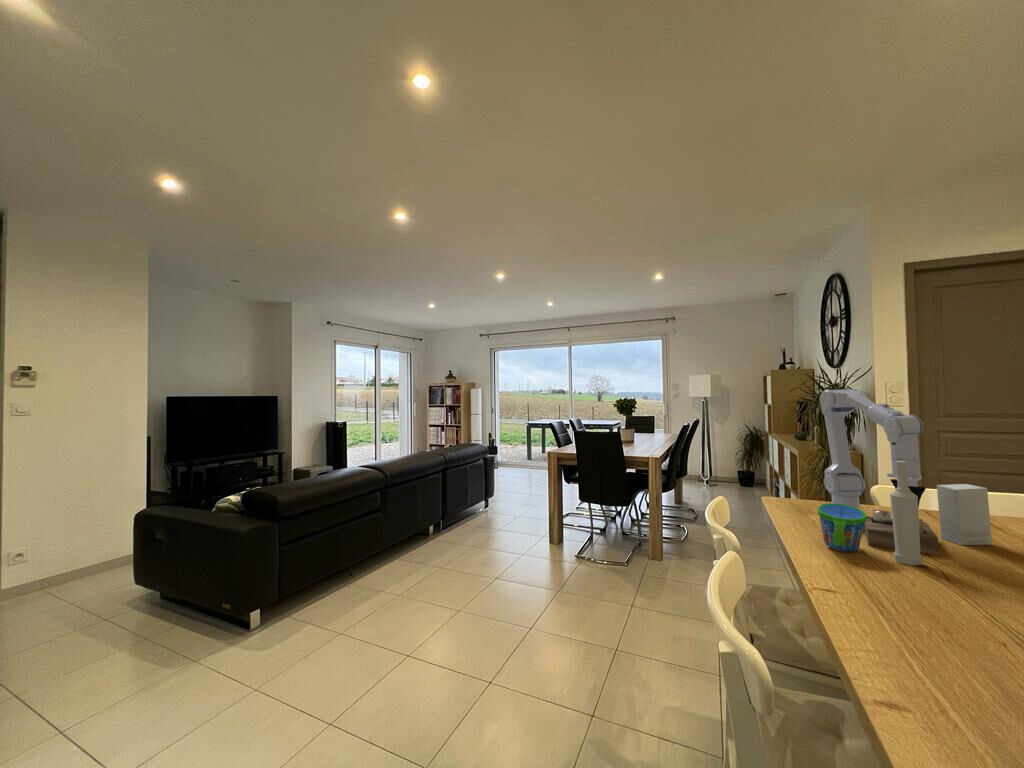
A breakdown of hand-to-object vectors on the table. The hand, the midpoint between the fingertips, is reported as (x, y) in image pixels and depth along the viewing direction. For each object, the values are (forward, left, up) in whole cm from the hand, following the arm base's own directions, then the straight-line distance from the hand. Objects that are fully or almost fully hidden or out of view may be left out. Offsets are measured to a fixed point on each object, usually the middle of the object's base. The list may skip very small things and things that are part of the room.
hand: (908, 508), depth 116 cm
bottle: (+15, -2, -11) cm, 18 cm away
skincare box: (-12, +13, -11) cm, 21 cm away
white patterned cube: (-6, -5, -7) cm, 11 cm away
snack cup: (+11, -16, -10) cm, 21 cm away
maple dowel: (0, +1, -7) cm, 7 cm away
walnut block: (-3, -2, -10) cm, 11 cm away
